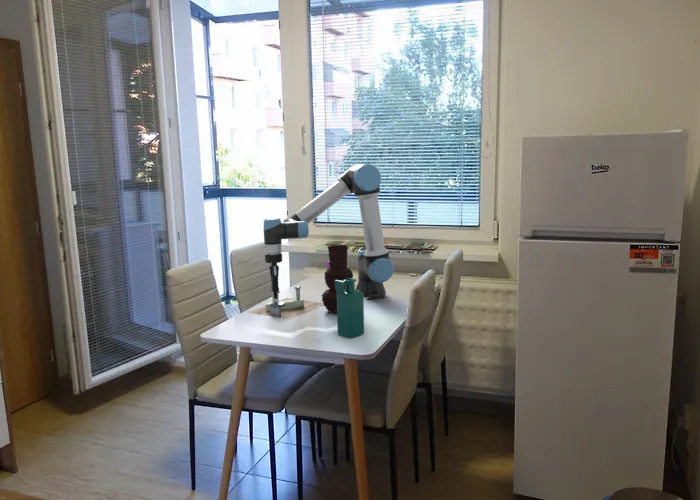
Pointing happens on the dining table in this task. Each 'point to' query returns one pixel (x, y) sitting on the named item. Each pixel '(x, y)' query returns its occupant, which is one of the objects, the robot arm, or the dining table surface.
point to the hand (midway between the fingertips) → (275, 304)
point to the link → (288, 304)
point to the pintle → (297, 292)
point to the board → (290, 312)
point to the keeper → (276, 309)
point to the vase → (335, 275)
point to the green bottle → (349, 309)
